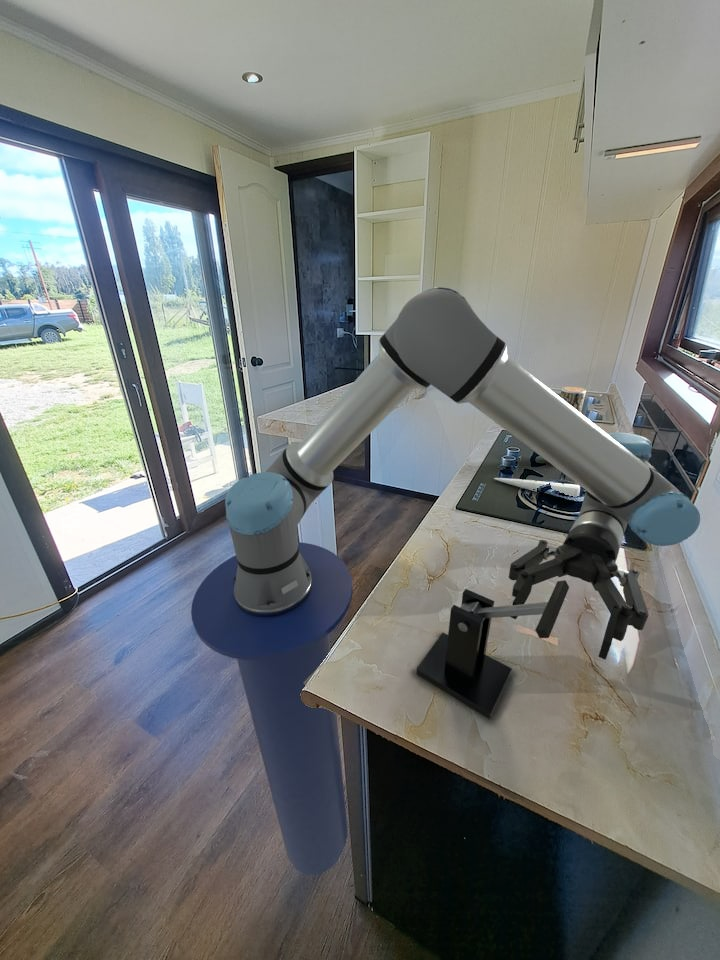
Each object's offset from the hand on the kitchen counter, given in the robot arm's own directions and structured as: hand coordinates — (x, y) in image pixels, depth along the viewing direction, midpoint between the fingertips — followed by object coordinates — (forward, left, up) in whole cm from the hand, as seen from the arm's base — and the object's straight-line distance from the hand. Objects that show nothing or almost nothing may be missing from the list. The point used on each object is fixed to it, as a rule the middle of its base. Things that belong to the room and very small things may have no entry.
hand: (556, 629), depth 48 cm
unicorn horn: (-19, +68, -16) cm, 72 cm away
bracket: (-11, -1, -16) cm, 19 cm away
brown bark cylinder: (-19, +93, -16) cm, 97 cm away
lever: (-5, -1, -1) cm, 5 cm away
